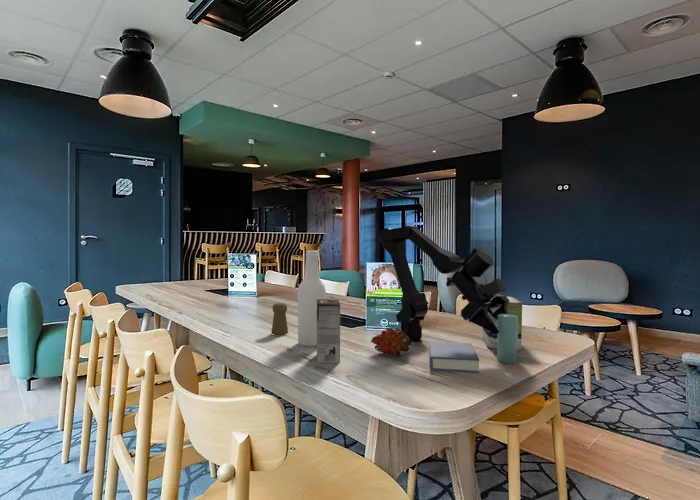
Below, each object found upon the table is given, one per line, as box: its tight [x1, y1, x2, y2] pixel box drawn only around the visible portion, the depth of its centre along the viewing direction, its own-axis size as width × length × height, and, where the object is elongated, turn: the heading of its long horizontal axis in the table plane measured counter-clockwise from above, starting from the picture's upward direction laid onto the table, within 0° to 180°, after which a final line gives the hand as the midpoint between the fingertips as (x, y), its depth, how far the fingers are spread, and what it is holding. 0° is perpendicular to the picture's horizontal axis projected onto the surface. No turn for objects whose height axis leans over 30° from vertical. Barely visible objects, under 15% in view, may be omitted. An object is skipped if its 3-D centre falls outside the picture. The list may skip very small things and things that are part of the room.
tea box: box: [482, 296, 523, 351], centre depth 128 cm, size 15×10×15 cm
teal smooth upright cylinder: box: [496, 314, 519, 365], centre depth 109 cm, size 5×5×12 cm
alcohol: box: [297, 249, 327, 347], centre depth 127 cm, size 9×9×30 cm
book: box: [428, 341, 480, 374], centre depth 108 cm, size 12×16×3 cm
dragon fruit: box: [370, 327, 412, 357], centre depth 115 cm, size 8×8×12 cm
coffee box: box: [316, 298, 341, 364], centre depth 111 cm, size 9×6×16 cm
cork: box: [271, 302, 289, 335], centre depth 141 cm, size 6×6×11 cm
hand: (505, 330), depth 109 cm, fingers open, 9 cm apart
